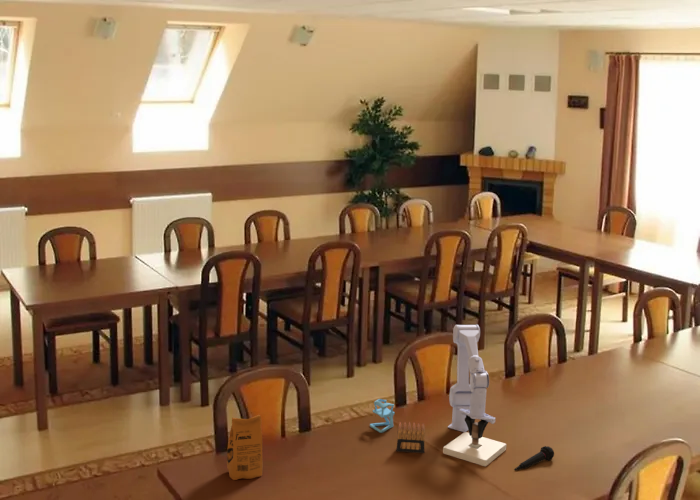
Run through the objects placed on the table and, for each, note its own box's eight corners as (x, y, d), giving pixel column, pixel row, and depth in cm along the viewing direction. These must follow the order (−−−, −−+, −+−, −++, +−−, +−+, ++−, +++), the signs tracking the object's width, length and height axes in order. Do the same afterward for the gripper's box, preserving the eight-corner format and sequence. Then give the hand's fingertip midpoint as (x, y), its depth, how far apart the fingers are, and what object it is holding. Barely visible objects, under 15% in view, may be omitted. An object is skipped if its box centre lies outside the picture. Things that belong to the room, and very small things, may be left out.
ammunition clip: (424, 451, 345) (425, 422, 342) (424, 453, 343) (425, 424, 340) (396, 449, 346) (397, 420, 343) (396, 451, 344) (397, 422, 341)
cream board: (464, 437, 358) (464, 431, 357) (505, 449, 348) (506, 443, 347) (443, 453, 343) (443, 447, 343) (485, 466, 333) (486, 460, 333)
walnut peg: (473, 440, 347) (474, 421, 345) (480, 443, 345) (482, 423, 343) (469, 443, 344) (470, 424, 343) (477, 446, 343) (478, 426, 341)
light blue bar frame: (396, 428, 364) (398, 401, 362) (380, 433, 360) (381, 405, 357) (385, 422, 370) (386, 394, 368) (369, 426, 366) (370, 398, 363)
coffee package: (225, 469, 325) (225, 412, 320) (259, 465, 329) (259, 409, 324) (229, 482, 316) (229, 424, 311) (264, 478, 319) (264, 420, 314)
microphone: (518, 480, 330) (555, 461, 341) (521, 469, 327) (558, 449, 338) (508, 470, 334) (544, 452, 345) (511, 459, 331) (548, 441, 342)
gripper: (456, 401, 342) (454, 434, 345) (490, 410, 334) (488, 444, 337) (464, 396, 348) (462, 428, 351) (498, 405, 340) (496, 438, 343)
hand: (475, 436), depth 344 cm, fingers closed on walnut peg, 3 cm apart
